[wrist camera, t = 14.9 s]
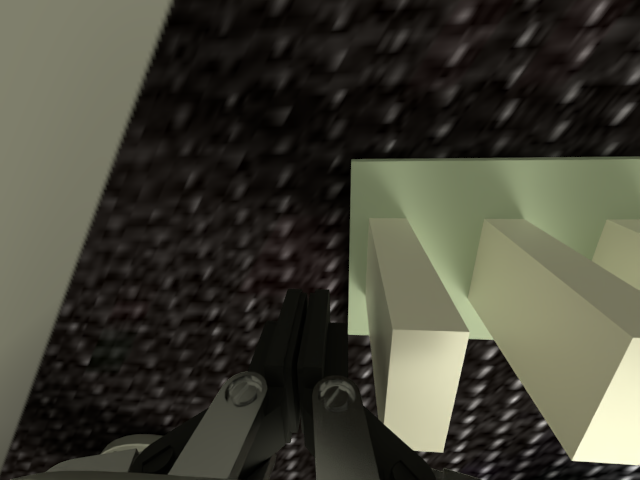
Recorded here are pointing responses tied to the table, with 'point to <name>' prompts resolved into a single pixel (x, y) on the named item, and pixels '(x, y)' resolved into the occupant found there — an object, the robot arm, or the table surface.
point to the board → (483, 211)
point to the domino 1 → (411, 336)
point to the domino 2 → (564, 337)
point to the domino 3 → (620, 250)
